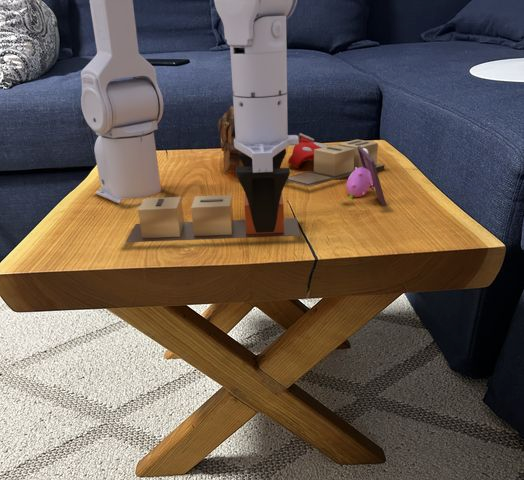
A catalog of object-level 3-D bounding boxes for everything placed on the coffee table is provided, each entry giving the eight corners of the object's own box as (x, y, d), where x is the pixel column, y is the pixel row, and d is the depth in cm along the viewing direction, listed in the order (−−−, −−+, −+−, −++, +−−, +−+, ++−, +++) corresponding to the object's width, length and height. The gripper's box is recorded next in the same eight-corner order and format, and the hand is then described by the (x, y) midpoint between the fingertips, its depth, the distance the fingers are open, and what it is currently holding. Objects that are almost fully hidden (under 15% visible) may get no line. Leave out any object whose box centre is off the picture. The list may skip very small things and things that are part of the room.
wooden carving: (213, 161, 100) (208, 100, 94) (238, 159, 100) (234, 98, 95) (229, 184, 86) (225, 115, 81) (258, 181, 87) (255, 112, 81)
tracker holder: (357, 155, 94) (320, 151, 87) (347, 181, 96) (310, 178, 89) (307, 130, 100) (269, 124, 93) (299, 154, 103) (261, 150, 96)
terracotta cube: (246, 234, 64) (244, 204, 62) (246, 222, 68) (245, 193, 66) (284, 232, 64) (283, 202, 62) (282, 220, 68) (282, 191, 66)
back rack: (309, 192, 81) (309, 161, 79) (279, 184, 85) (278, 155, 83) (384, 170, 90) (386, 142, 88) (354, 163, 94) (355, 137, 92)
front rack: (126, 248, 64) (119, 212, 62) (136, 229, 69) (130, 195, 67) (300, 242, 64) (300, 204, 62) (296, 223, 69) (296, 188, 67)
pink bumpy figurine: (379, 158, 68) (364, 143, 76) (339, 174, 69) (328, 158, 77) (393, 208, 72) (377, 189, 80) (354, 223, 73) (343, 202, 80)
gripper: (302, 102, 52) (303, 240, 59) (294, 84, 65) (295, 200, 72) (227, 105, 52) (236, 243, 59) (233, 87, 65) (240, 203, 72)
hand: (264, 220), depth 66 cm, fingers open, 7 cm apart
